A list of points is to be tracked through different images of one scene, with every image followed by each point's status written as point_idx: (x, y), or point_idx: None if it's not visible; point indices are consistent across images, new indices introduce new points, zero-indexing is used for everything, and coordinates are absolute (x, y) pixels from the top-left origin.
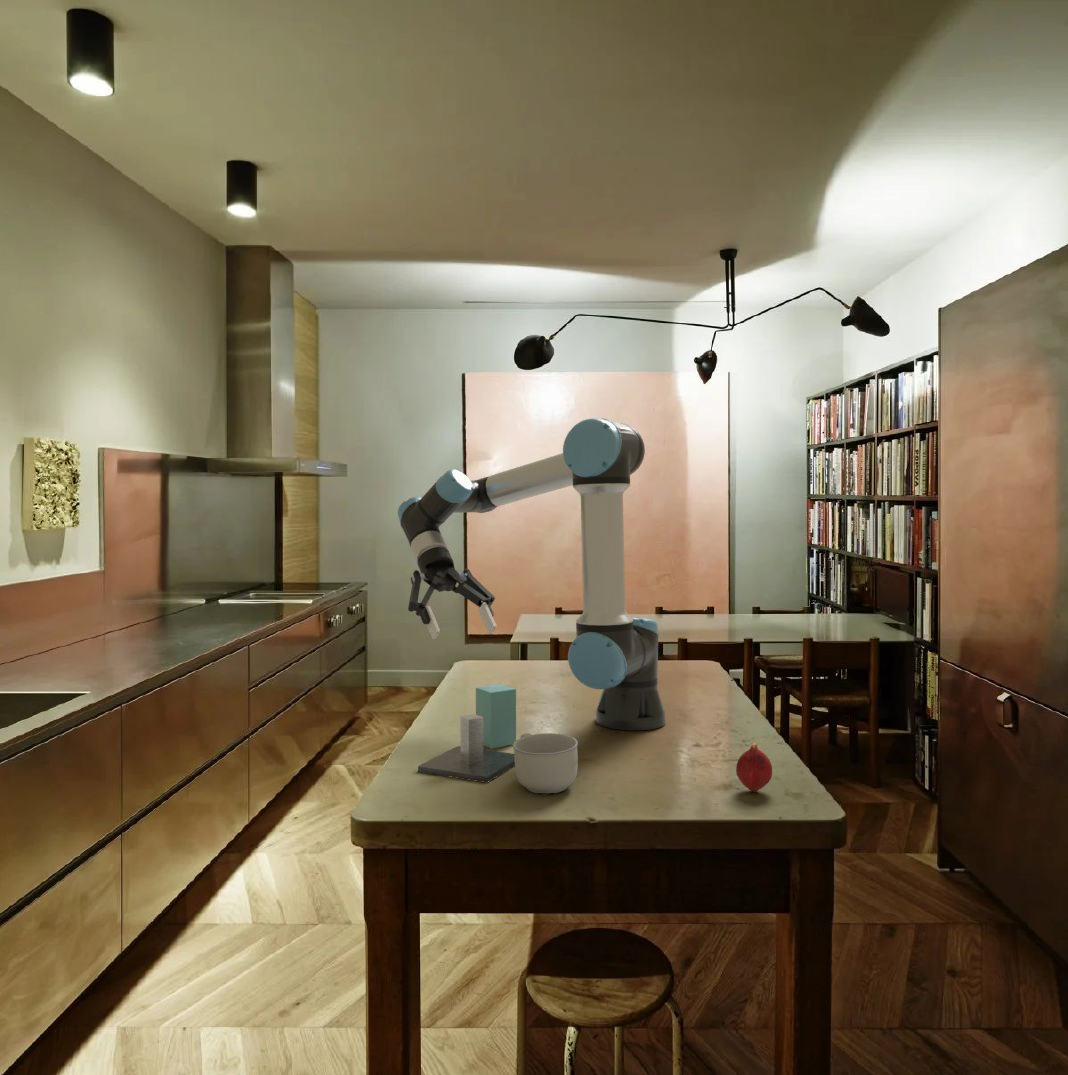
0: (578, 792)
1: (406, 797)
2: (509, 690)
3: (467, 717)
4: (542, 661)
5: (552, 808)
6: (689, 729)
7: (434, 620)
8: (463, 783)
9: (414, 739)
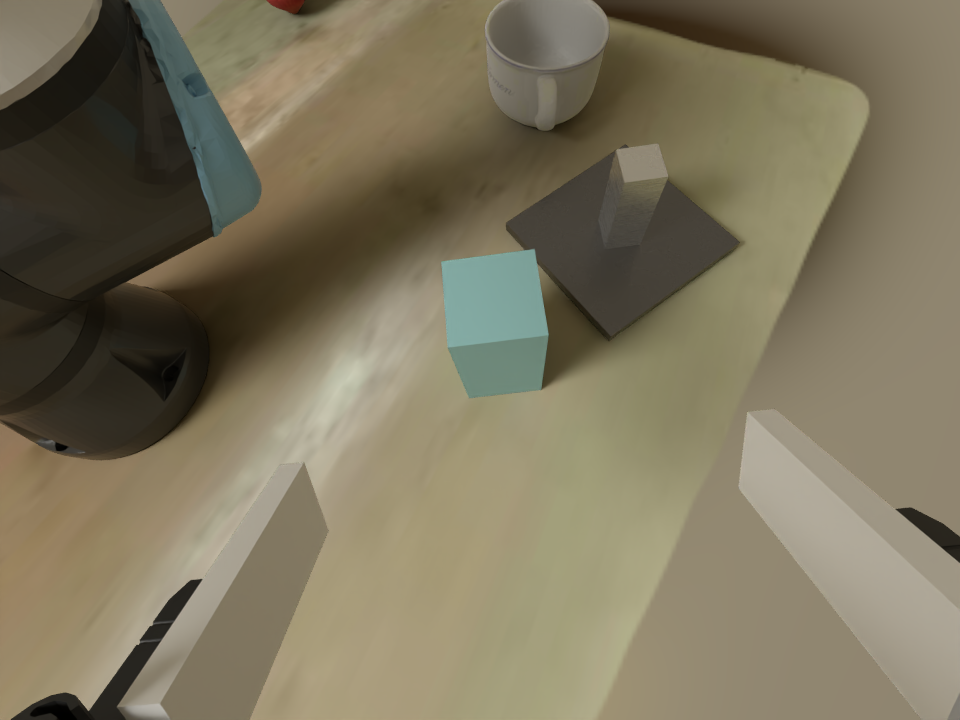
0: None
1: (782, 142)
2: (466, 258)
3: (653, 162)
4: None
5: None
6: None
7: (830, 470)
8: None
9: (686, 490)
